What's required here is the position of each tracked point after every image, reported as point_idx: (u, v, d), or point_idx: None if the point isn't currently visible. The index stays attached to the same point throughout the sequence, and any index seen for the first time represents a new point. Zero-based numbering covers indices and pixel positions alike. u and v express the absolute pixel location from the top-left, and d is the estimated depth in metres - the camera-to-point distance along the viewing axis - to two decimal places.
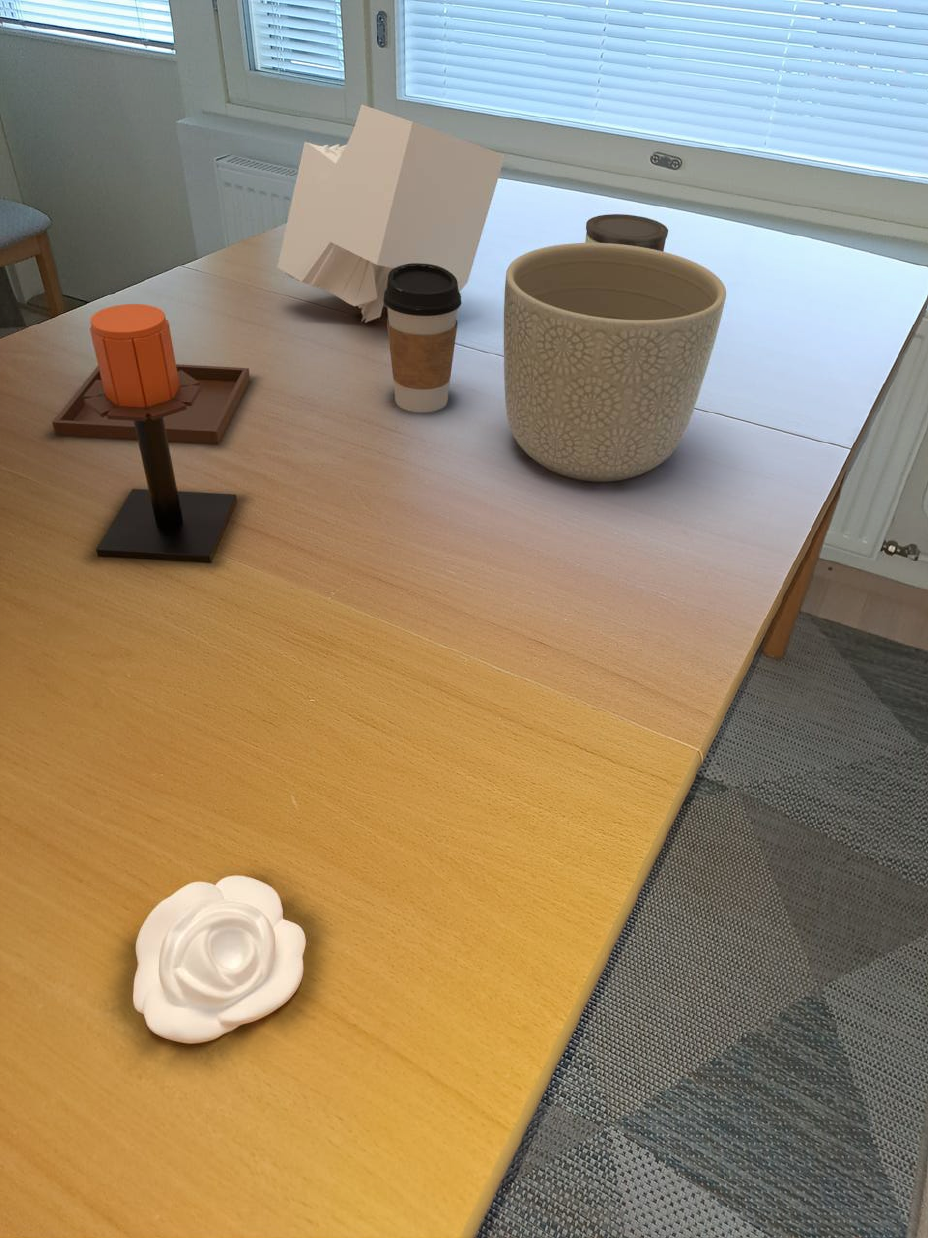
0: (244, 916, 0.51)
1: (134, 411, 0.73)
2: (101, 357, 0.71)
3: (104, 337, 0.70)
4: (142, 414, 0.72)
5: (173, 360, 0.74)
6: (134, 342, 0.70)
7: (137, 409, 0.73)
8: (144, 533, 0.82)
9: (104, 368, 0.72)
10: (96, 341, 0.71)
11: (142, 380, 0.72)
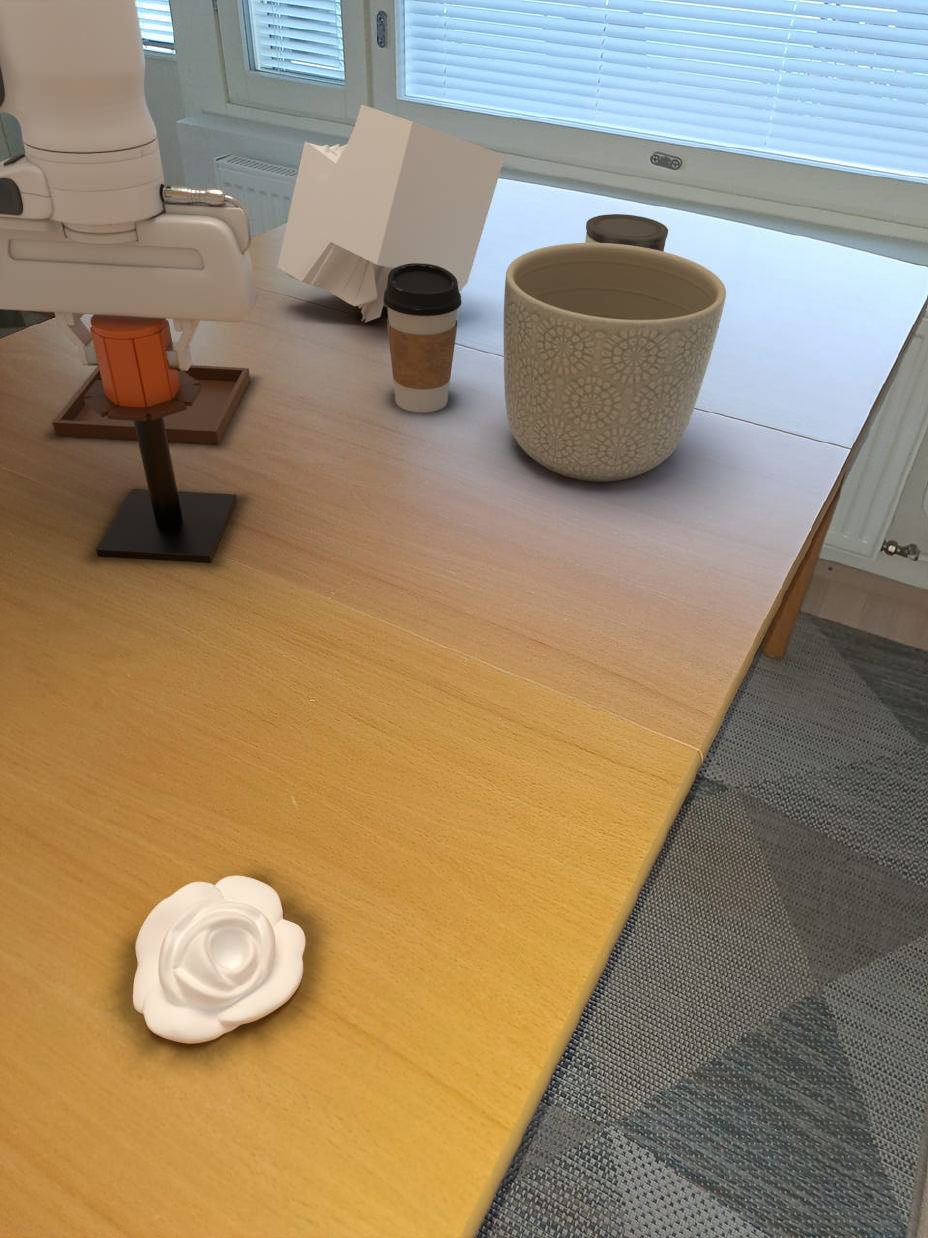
0: (244, 916, 0.51)
1: (134, 411, 0.73)
2: (101, 357, 0.71)
3: (104, 337, 0.70)
4: (143, 414, 0.72)
5: None
6: (134, 342, 0.70)
7: (137, 409, 0.73)
8: (144, 533, 0.82)
9: (104, 368, 0.72)
10: (96, 341, 0.71)
11: (142, 380, 0.72)
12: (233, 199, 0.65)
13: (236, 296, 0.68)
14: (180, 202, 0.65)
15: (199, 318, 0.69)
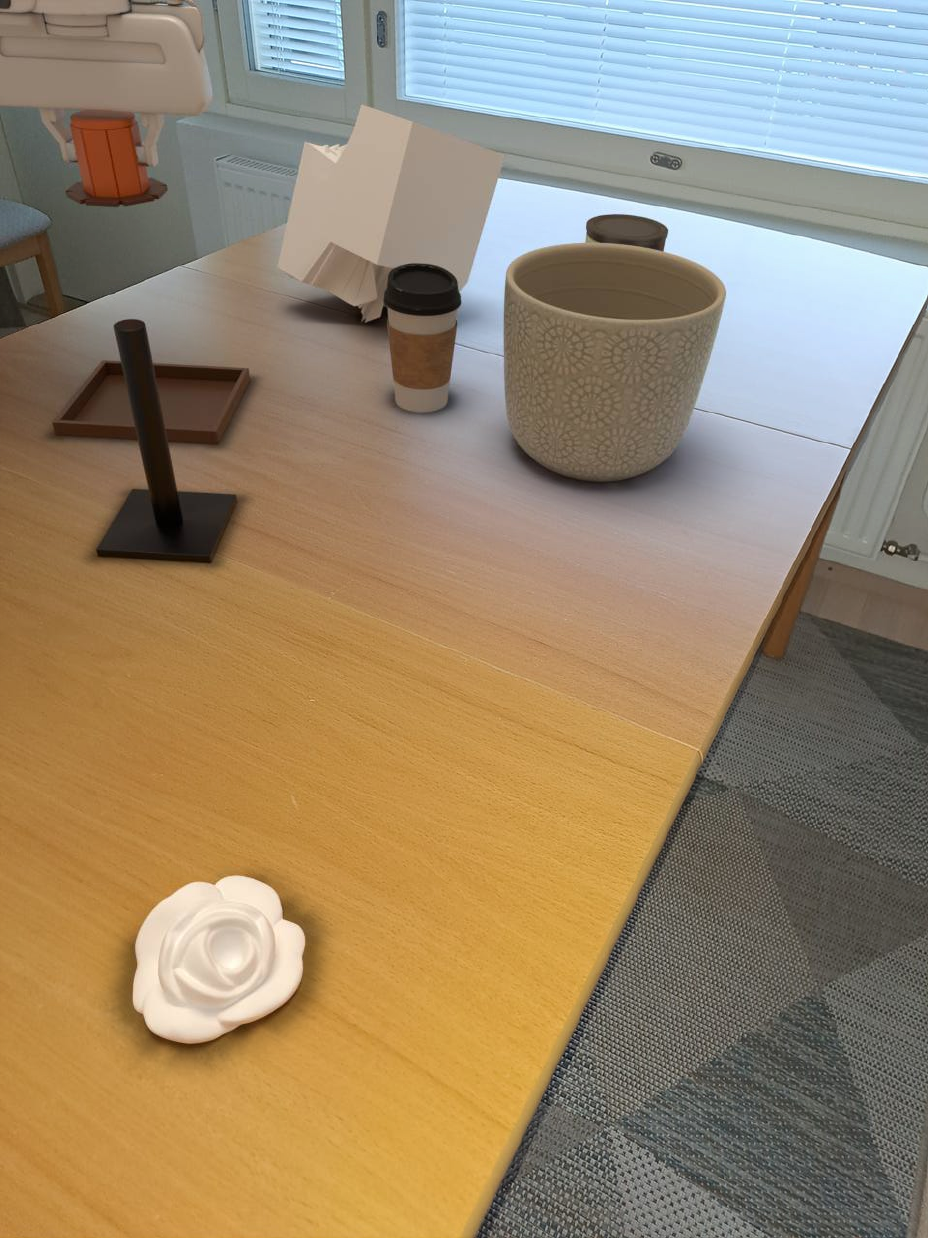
0: (244, 916, 0.51)
1: (108, 199, 0.84)
2: (80, 150, 0.83)
3: (82, 128, 0.81)
4: (116, 201, 0.84)
5: None
6: (107, 133, 0.81)
7: (111, 198, 0.85)
8: (144, 533, 0.82)
9: (82, 160, 0.84)
10: (75, 134, 0.82)
11: (115, 170, 0.84)
12: None
13: (193, 88, 0.80)
14: (144, 1, 0.77)
15: (162, 111, 0.81)
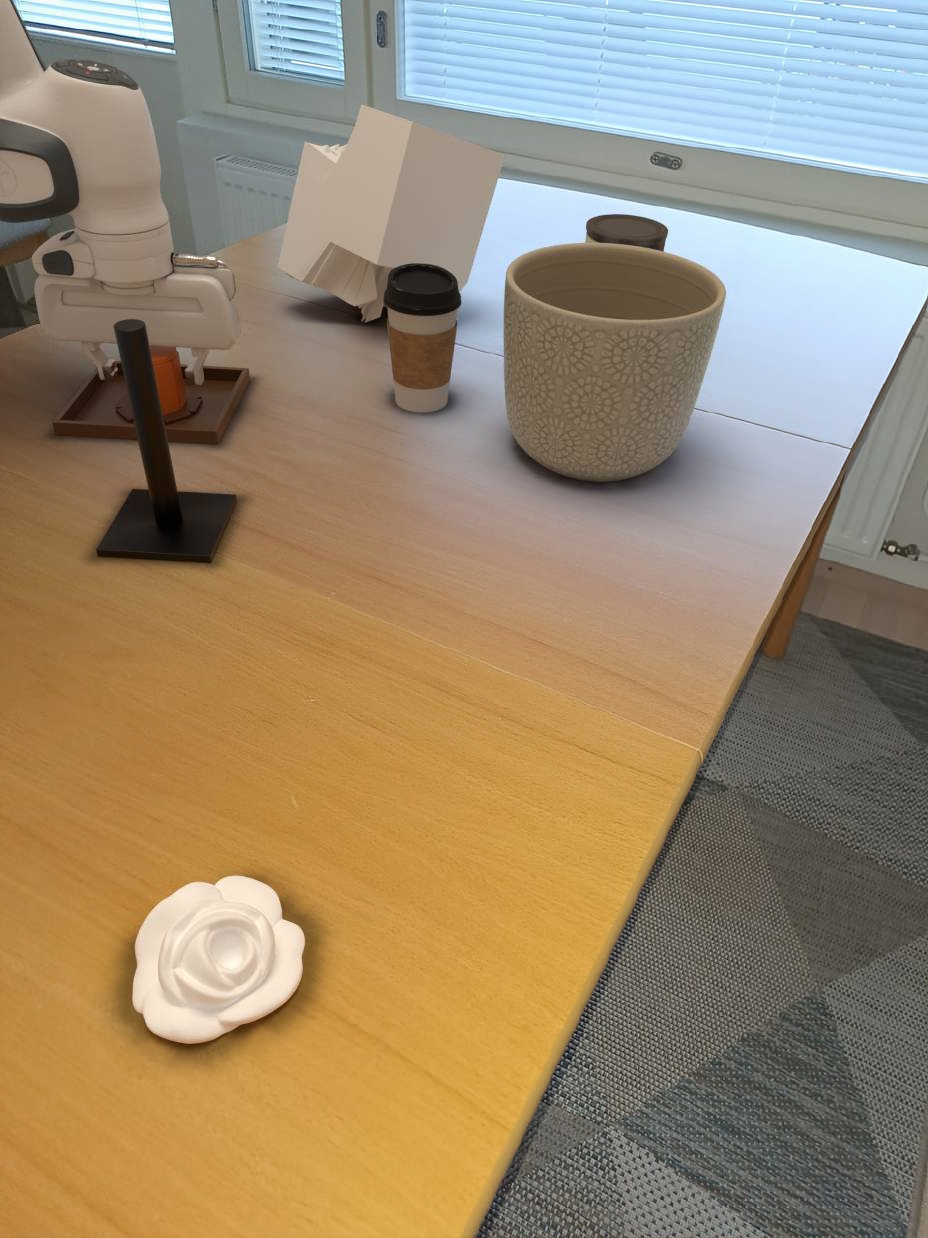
0: (243, 916, 0.51)
1: None
2: None
3: None
4: None
5: (182, 380, 1.00)
6: (154, 368, 0.96)
7: None
8: (144, 533, 0.82)
9: None
10: None
11: (159, 395, 0.98)
12: (223, 263, 0.91)
13: (225, 331, 0.94)
14: (185, 265, 0.91)
15: (198, 347, 0.95)
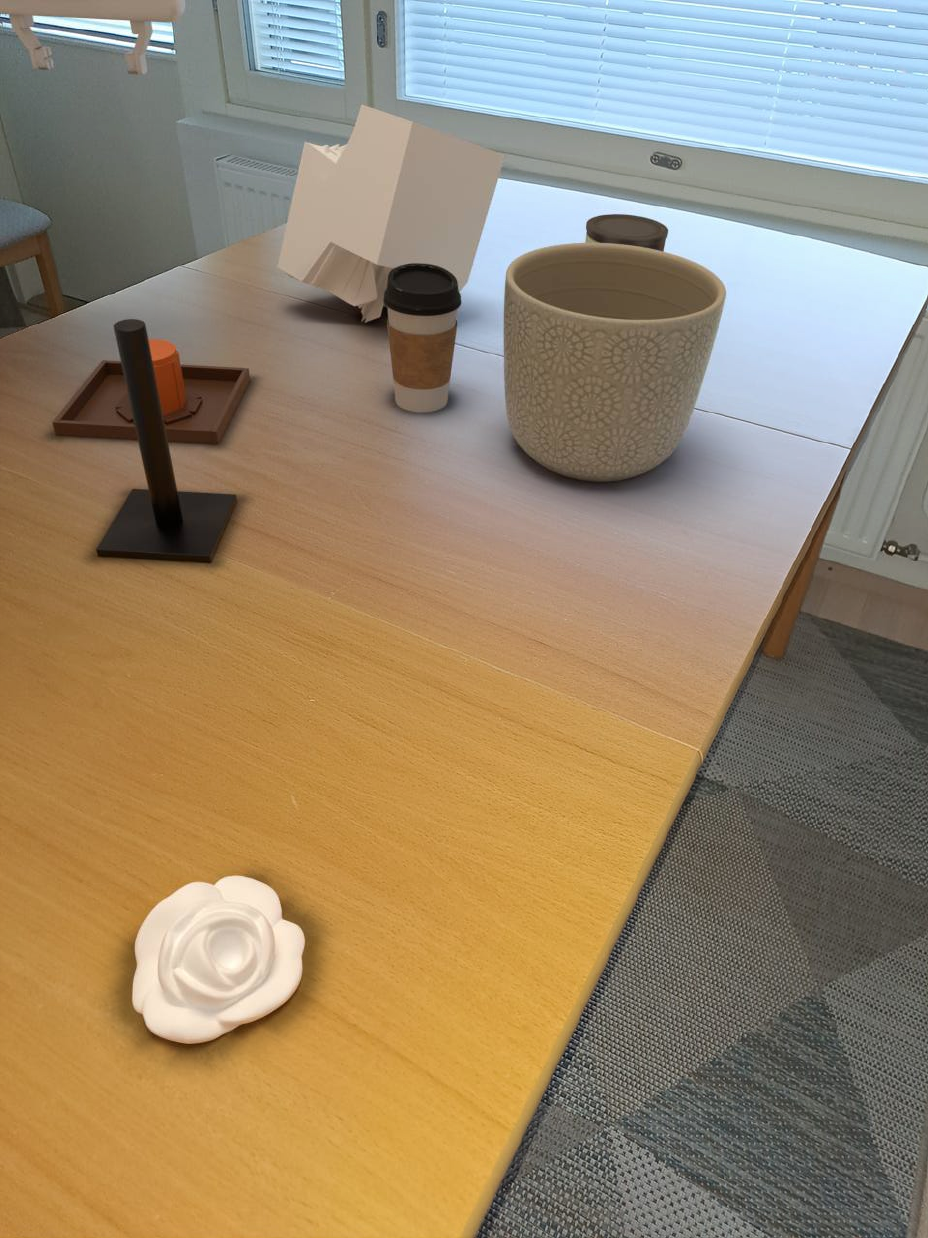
0: (243, 916, 0.51)
1: None
2: None
3: None
4: None
5: (182, 380, 1.00)
6: (154, 368, 0.96)
7: None
8: (144, 533, 0.82)
9: None
10: None
11: (159, 395, 0.98)
12: None
13: None
14: None
15: (138, 17, 0.87)
